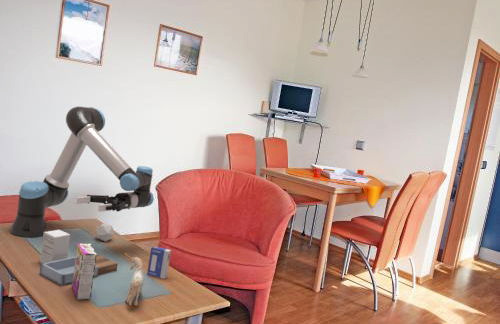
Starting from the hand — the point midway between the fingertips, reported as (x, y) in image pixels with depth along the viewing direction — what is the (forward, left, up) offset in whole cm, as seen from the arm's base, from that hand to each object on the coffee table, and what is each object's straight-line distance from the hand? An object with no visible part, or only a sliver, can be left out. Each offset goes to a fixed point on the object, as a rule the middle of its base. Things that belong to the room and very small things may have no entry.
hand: (87, 204), depth 189 cm
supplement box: (-1, -13, -24) cm, 27 cm away
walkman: (+31, +13, -24) cm, 42 cm away
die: (-15, +25, -24) cm, 38 cm away
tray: (+12, -15, -23) cm, 30 cm away
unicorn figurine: (+39, -12, -24) cm, 47 cm away
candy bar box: (+27, -22, -24) cm, 42 cm away
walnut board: (+12, -2, -23) cm, 27 cm away
